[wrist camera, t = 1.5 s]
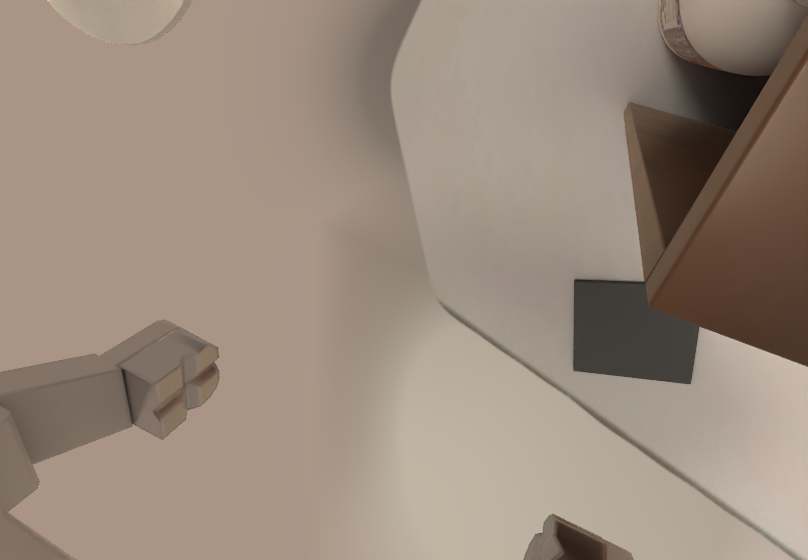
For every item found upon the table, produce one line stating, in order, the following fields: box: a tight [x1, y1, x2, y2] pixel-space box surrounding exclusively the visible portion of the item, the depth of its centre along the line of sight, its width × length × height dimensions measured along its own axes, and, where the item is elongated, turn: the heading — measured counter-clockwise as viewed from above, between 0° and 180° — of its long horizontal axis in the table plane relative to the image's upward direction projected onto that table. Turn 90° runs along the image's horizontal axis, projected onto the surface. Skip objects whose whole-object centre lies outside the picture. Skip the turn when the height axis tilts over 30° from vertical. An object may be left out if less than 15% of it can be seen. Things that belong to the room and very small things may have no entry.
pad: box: [574, 280, 699, 384], centre depth 36 cm, size 9×9×1 cm
